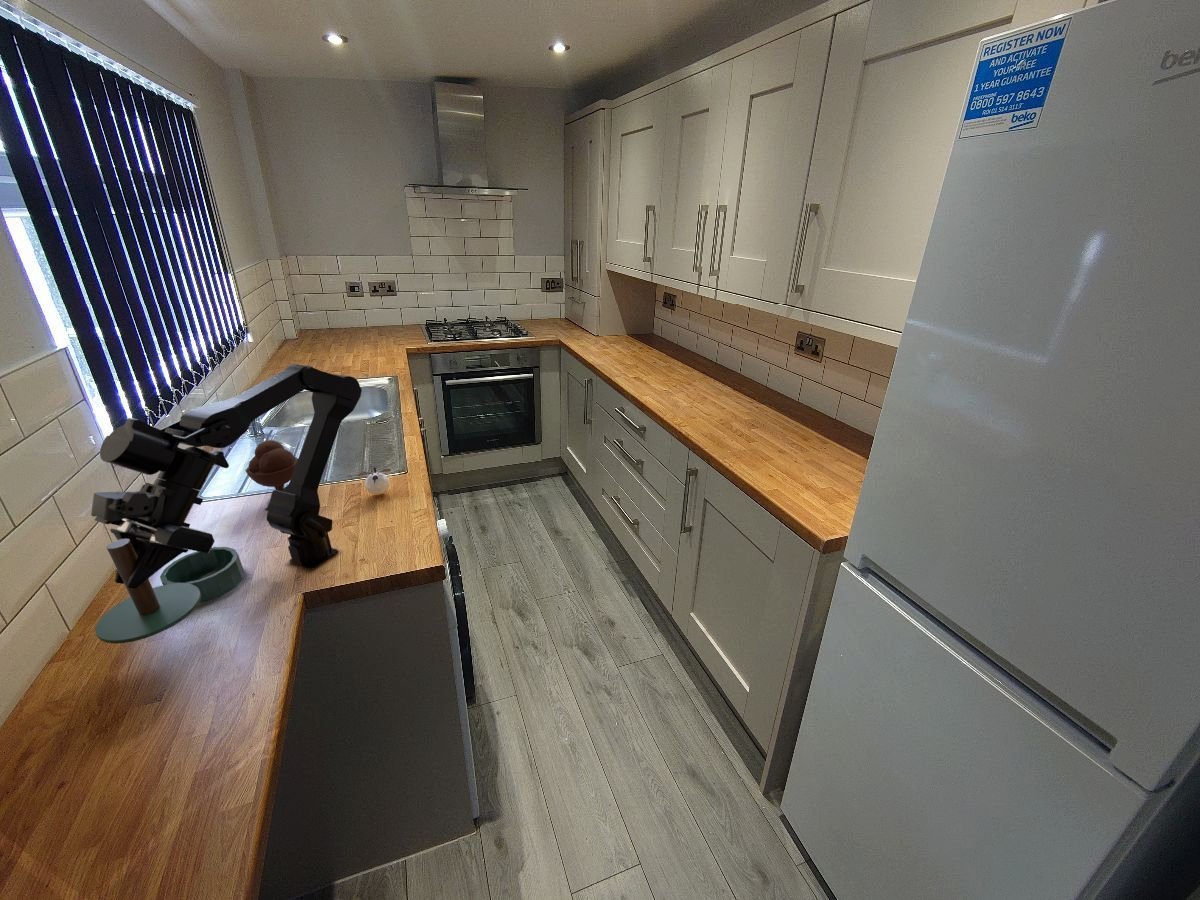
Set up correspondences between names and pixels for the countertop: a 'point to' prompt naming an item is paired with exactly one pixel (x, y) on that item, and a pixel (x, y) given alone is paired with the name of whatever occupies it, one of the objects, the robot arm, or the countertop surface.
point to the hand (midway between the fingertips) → (125, 585)
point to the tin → (202, 564)
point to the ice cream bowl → (271, 465)
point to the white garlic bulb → (376, 482)
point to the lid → (143, 603)
